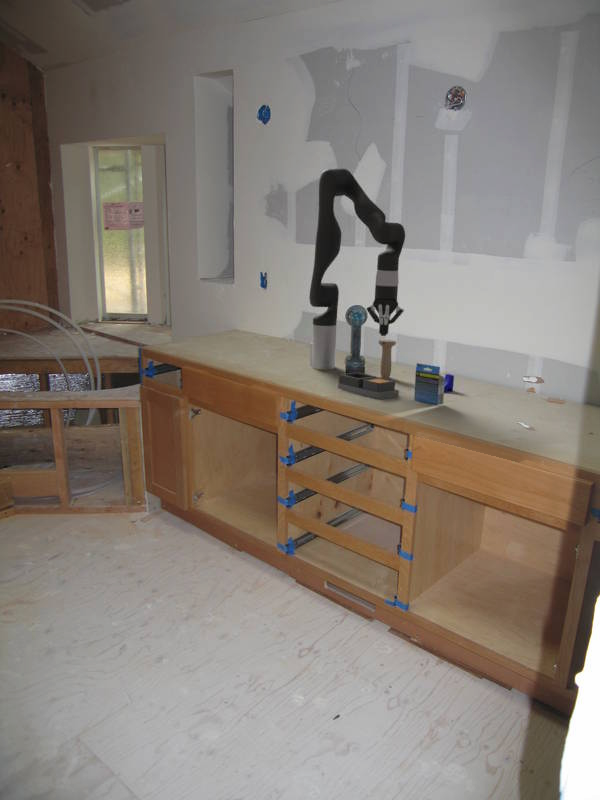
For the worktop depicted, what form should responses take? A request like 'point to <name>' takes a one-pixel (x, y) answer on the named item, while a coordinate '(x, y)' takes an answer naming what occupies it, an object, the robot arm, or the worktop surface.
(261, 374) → the worktop surface
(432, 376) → the label tape box
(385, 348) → the handle
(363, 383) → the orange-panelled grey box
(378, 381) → the button
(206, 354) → the worktop surface
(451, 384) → the blue curved piece
